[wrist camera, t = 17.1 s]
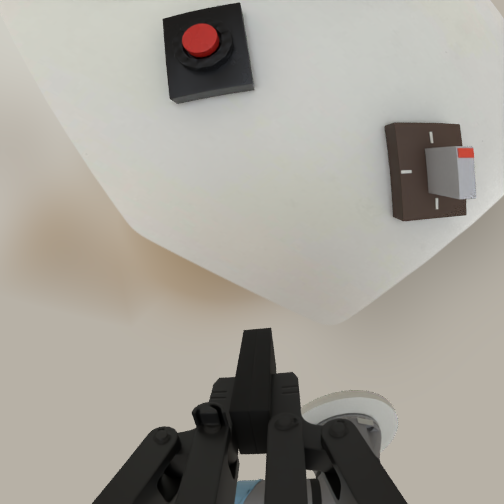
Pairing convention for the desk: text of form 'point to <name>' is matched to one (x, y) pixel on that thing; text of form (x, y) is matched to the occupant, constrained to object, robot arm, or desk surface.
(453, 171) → the dial
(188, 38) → the power button
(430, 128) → the dial panel
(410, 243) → the desk surface
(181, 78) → the button block
